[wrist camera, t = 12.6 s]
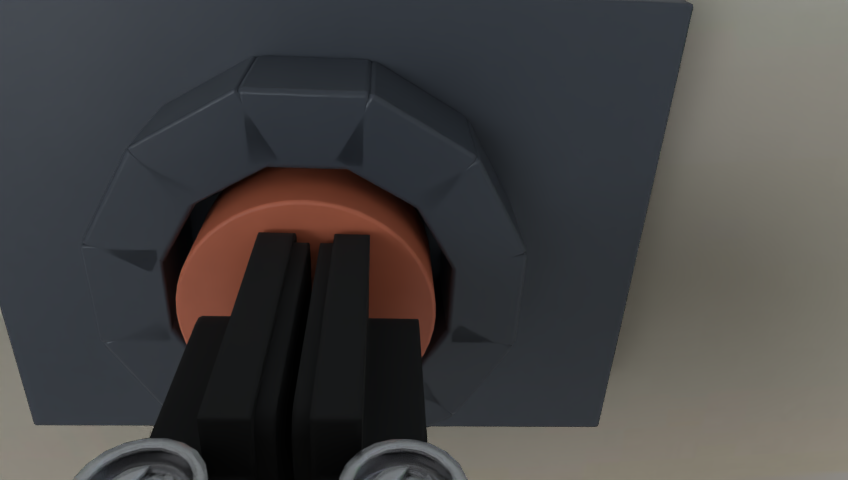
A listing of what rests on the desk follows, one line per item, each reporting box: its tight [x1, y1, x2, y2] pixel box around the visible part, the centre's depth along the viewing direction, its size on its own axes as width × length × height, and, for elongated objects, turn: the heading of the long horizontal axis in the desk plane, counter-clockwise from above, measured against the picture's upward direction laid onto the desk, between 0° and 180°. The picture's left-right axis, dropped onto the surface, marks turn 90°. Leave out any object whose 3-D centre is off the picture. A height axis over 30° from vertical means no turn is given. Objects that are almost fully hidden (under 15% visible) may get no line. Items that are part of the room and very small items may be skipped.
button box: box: [0, 0, 693, 427], centre depth 13 cm, size 12×9×4 cm
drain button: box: [176, 167, 436, 357], centre depth 12 cm, size 4×4×2 cm
